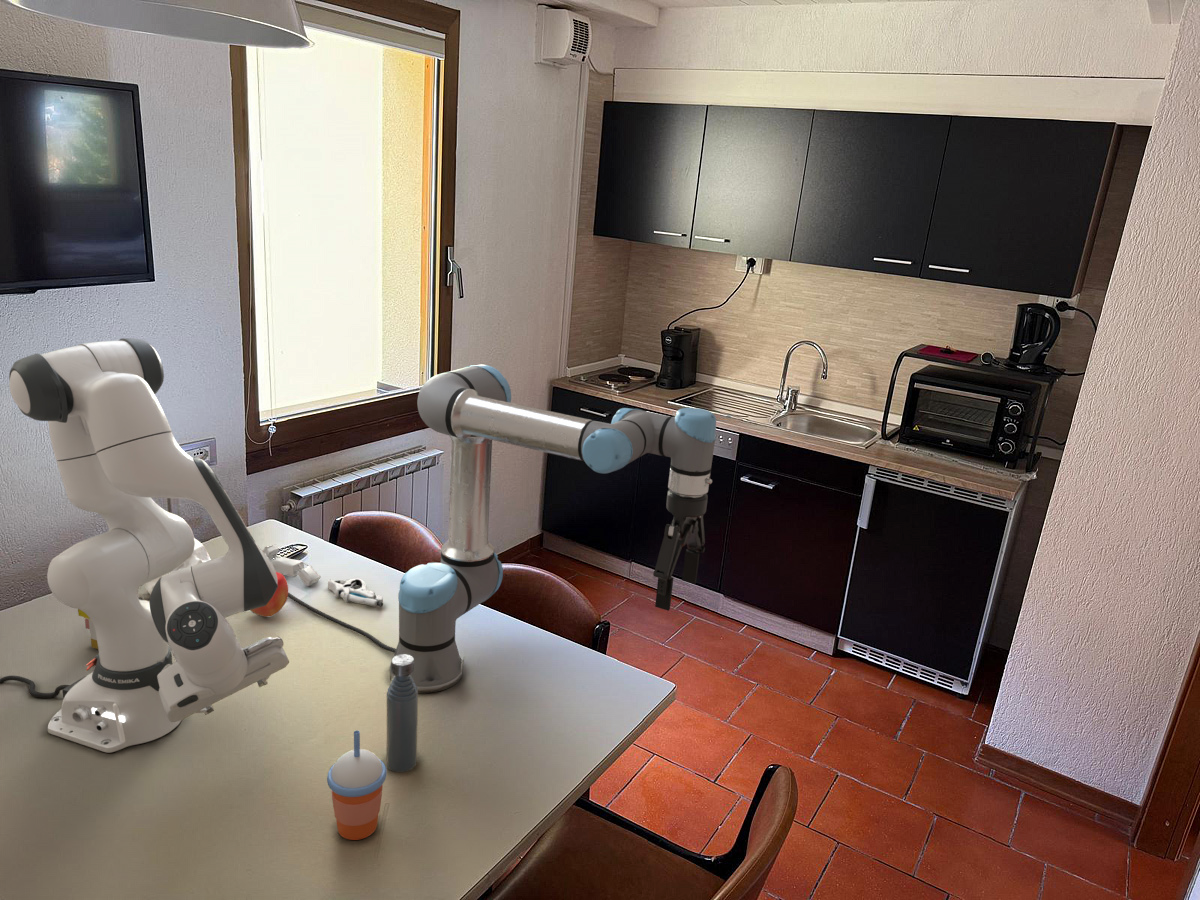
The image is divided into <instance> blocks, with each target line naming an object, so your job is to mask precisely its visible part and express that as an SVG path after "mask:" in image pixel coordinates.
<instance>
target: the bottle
mask: <svg viewBox="0 0 1200 900" xmlns="http://www.w3.org/2000/svg"><path fill="white" fill-rule="evenodd" d="M418 717H419V693H418V690H417V686H416V685H415V682H414V681H413V679H412V676H411V675H409V676H405V677H399V676H394V677H393V680H391V682H390V684H389V686H388V688H387V691H386V749H385V750H386V751H385V752H386V761H385V762H386V763H385V765H386V768H388V770H389V771H392V772H396V773H404V772H408V771H410V770H412V769H414V768H415V767H416V766H417V763H418V726H419V725H418V724H419V723H418V721H419V719H418Z"/></svg>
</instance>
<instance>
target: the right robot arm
mask: <svg viewBox="0 0 1200 900" xmlns="http://www.w3.org/2000/svg"><path fill="white" fill-rule="evenodd" d="M416 402H417V403H416V404H417V411H418V415H419V417H420V418H421V420H422V422H423V423H424V425H426V426H427V427H428V428H430V429H431V430H433V431H435V432H437V433H439V434H443V435H446V436H449V437H450V461H449V462H450V464H449V465H450V467H449V472H450V473H449V498H448V499H449V500H448V501H449V503H448V534H447V535H448V536H447V537H448V539H447V541H446V542H445V543H444V544H443V545H441V547H440V562H428V563H427V564H423V563H422V564H418V565H416V566H414V567H412V568H410V569H409V570H408V571H407V570H406V572H405V573H404V574H403V576H401V579H400V583H399V590H398V593H397V594H398V595H397V597H398V643H397V645H396V648H395V647H393V646H389V645H387V644H385V643H383V642H382V641H380V640H379V639H377V638H376V637H375V636H373V635H372V634H370V633H368V632H367V631H365V630H364V629H363V630H362V629H361V628H359V627H357V626H354V625H351V624H350V623H347V622H345V621H342V620H341V619H338V618H336V617H333V616H332V615H329V614H327V613H325V612H323V611H321V610H319V609H318V608H315V607H313V606H312V605H310V604H308V603H306V602H305V601H303V600H301V599H300V598H298V597H296V596H295V595H293V594H292V593H290V592H289V591H288V598H289V599H290V600H292V601H293V602H294V603H296V604H298V605H300V606H301V607H302V608H305V609H307V610H308V611H310V612H312V613H314V614H315V615H318V616H320V617H321V618H323V619H326V620H327V621H330V622H331V623H335V624H337V625H339V626H341V627H343V628H346V629H348V630H350V631H353V632H354V633H357V634H360V635H361V636H363V637H365V638H367V639H368V640H369V641H371V642H372V643H374V644H375V645H376V646H378V647H379V648H381V649H383V650H385V651H387V652H390V653H393V656H392V658H393V657H394V656H396V655H400V654H407V655H411V656H412V657H413V658H414V671H413V673H412V674H411V676H412V679H413V681H414V682H415V685H416V686H417V690H418V694H430V693H431V694H432V693H438V692H441V691H445V690H447V689H450V688H451V687H453V686H455V685H456V684H457V683H458V682H459V681H460V680H461V679H462V676H463V672H464V663H465V657H463V658H462V657H461V656H460V653H459V649H458V646H457V642H456V622H457V620H458V619H459V618H461V617H462V616H463V615H465V614H467V613H469V612H470V611H471V610H472V609H474V608H476V607H477V606H479V605H480V604H482V603H484V602H486V601H487V600H489V599H490V598H491V597H492V596H493V595H494V594H495V593H496V592H497V591H498V590H499V588H500V586H501V585H502V581H503V578H504V569H503V564H502V561H501V560H499V559H498V558H499V556H498V555H497V554H498V553H496V551H495V547H494V545H492V544H491V542H489V524H490V523H489V522H490V497H491V479H492V478H491V477H492V452H493V451H492V450H493V441H494V442H499V443H503V444H507V445H512V446H517V447H521V448H524V449H529V450H534V451H538V452H542V453H546V454H551V455H555V456H558V457H559V456H560V457H563V458H567V459H572V460H576V461H581V462H585V464H586V465H587V467H589V468H590V469H591V470H592V471H593V472H595V473H598V474H609V473H612V472H617V471H619V470H621V469H623V468H624V467H626V466H627V465H628V464H630V463H632V462H634V461H635V460H637V459H639V458H641V457H642V456H644V455H646V454H652V455H657V456H660V457H666V458H667V457H668V458H670V467H669V473H668V474H669V476H668V483H667V488H668V490H667V495H666V504H665V505H666V506H665V508H666V510H667V511H668V512H669V513H671V514H672V515H673V518H672V520H671V522H670V524H669V523H666V524H665V527H664V533H663V539H662V541H661V546H660V550H659V553H658V555H657V560H656V564H655V567H654V570H653V577H654V578H657V584H656V594H655V604H654V607H655V608H659V609H661V610H665V611H670V610H671V603H672V595H673V587H674V586H673V585H674V576H673V574H674V571H675V568H676V565H677V562H678V559H679V557H680V554H681V551H682V548H684V547H685V546H686V547H687V549H686V550H685V551H684V552H685V553H684V559H683V560H684V562H683V569H682V570H683V571H682V579H681V582H686V583H690V584H693V585H695V584H696V583H697V578H698V570H699V563H700V554H701V553H704V552H705V550H706V547H705V546H704V545H705V543H706V538H705V526H704V525H705V524H704V515H705V514H706V513H707V508H708V507H707V506H708V498H709V496H708V493H709V488H710V485H712V483H713V479H711V472H712V465H713V464H712V463H713V458H714V451H715V443H716V440H717V436H716V433H717V432H716V431H717V417H716V415H715V414H714V413H713V412H712V411H710V410H707V409H703V408H699V407H697V408H696V407H695V408H694V407H682V408H679V409H677V411H676V413H675V415H674V416H670V415H666V414H661V413H657V412H656V413H655V412H650V411H647V410H643V409H640V408H628V407H622V408H619V409H618V410H617V411H616V413H615V414H614V415H613V416H612V419H611V422H610V423H609V422H604V421H603V422H602V421H597V420H593V419H589V418H585V417H580V416H574V415H570V414H565V413H561V412H556V411H551V410H546V409H542V408H538V407H533V406H527V405H523V404H518V403H515V402H512V391H511V387H510V384H509V382H508V380H507V378H506V377H504V375H503V373H502V372H501V371H500V370H499V369H497V368H495V367H494V366H491V365H488V364H477V365H472V364H471V365H467V366H465V367H463V368H457V369H455V370H450V371H446V372H442V373H439V374H435V375H433V376H432V377H430V378H429V379H428V380H427V381H426V382H425V383H423V385H422V386H421V388H420V389H419V392H418V395H417V401H416ZM391 663H392V660H390V666H389V679H390V681H392V680H393V677H394V676H395V675H393V674H392V671H391Z"/></svg>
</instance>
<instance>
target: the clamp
mask: <svg viewBox="0 0 1200 900" xmlns="http://www.w3.org/2000/svg"><path fill="white" fill-rule="evenodd" d="M280 549H281V547H279V546H278V545H277V544H272V545H266V546H264V547H263V549H261V550H262V551H263V552H264V553H265V555H266V556H267V557H268V558H269V560H271V563H272V565H273V567H274V569H275V571H276V572H278V573H281V574H282V575H283V576H288V577H292V578H296V577H298V578H299V579H300V580H301V582H303V584H304V585H305V587H309V586H312V585H314V584H316V583H318V582H319V580H320V579H321V578H322V577H321V575H320V574H319V573H318V572H317V570H315V569H314V568H313V566H312V565H310V564H309V565H308V564H307V563H305V562H304V561H303V560H301V559H300V560H299V559H292V558H289V557H285V556H278V553H279V551H280ZM273 558H274V559H273ZM272 559H273V560H272ZM305 566H306V567H305Z"/></svg>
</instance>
